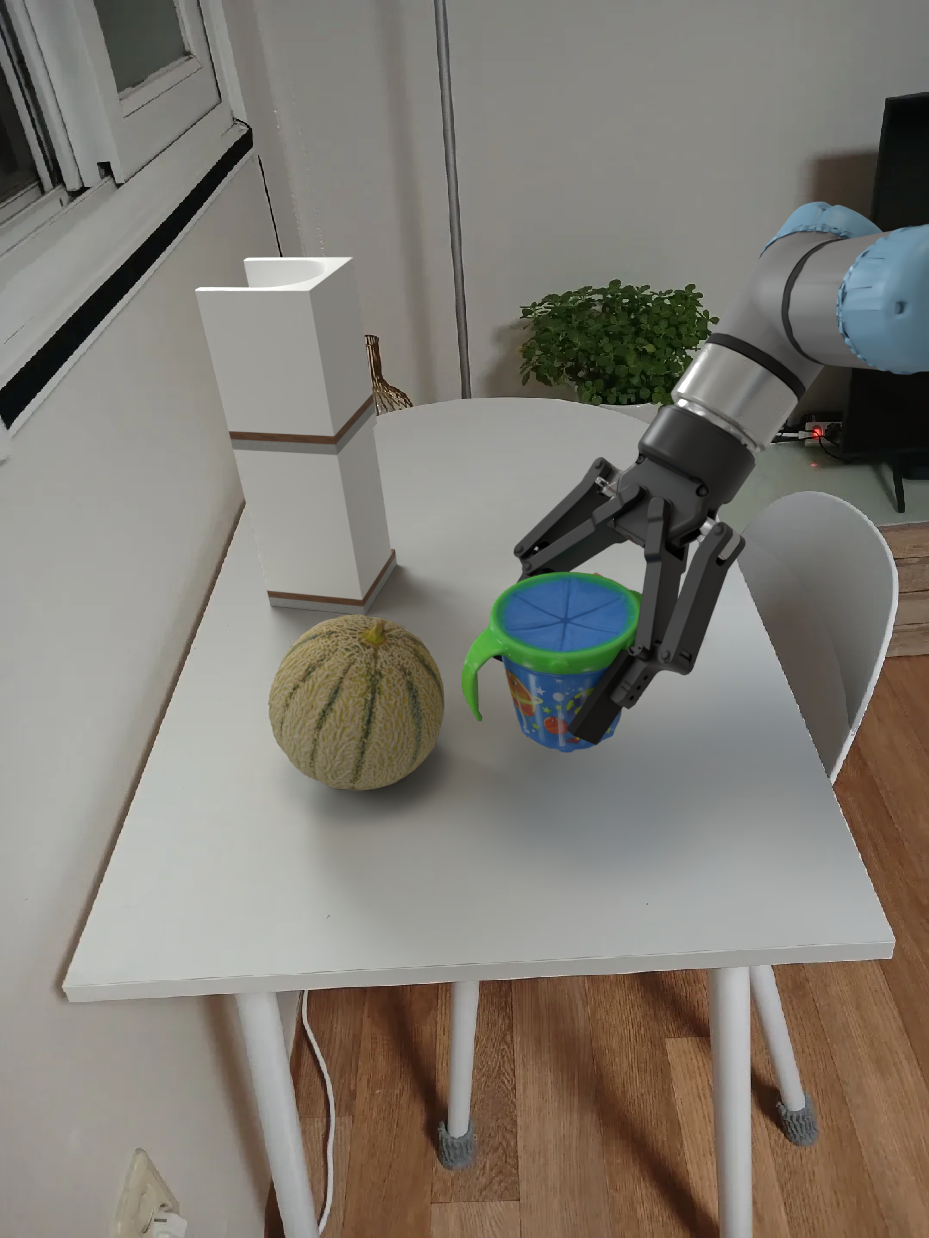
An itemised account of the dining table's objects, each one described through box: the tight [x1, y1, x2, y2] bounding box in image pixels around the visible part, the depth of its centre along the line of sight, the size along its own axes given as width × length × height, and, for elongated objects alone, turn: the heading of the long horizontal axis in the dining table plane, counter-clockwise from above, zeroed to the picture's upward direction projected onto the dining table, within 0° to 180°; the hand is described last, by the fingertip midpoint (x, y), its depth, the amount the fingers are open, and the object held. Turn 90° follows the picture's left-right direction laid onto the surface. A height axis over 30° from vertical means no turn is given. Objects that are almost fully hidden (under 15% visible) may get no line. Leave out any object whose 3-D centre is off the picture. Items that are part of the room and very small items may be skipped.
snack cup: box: [460, 571, 642, 754], centre depth 68 cm, size 16×11×10 cm
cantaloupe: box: [267, 614, 446, 791], centre depth 80 cm, size 15×15×15 cm
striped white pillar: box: [194, 256, 398, 616], centre depth 100 cm, size 11×11×35 cm
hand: (534, 694), depth 68 cm, fingers closed on snack cup, 10 cm apart
